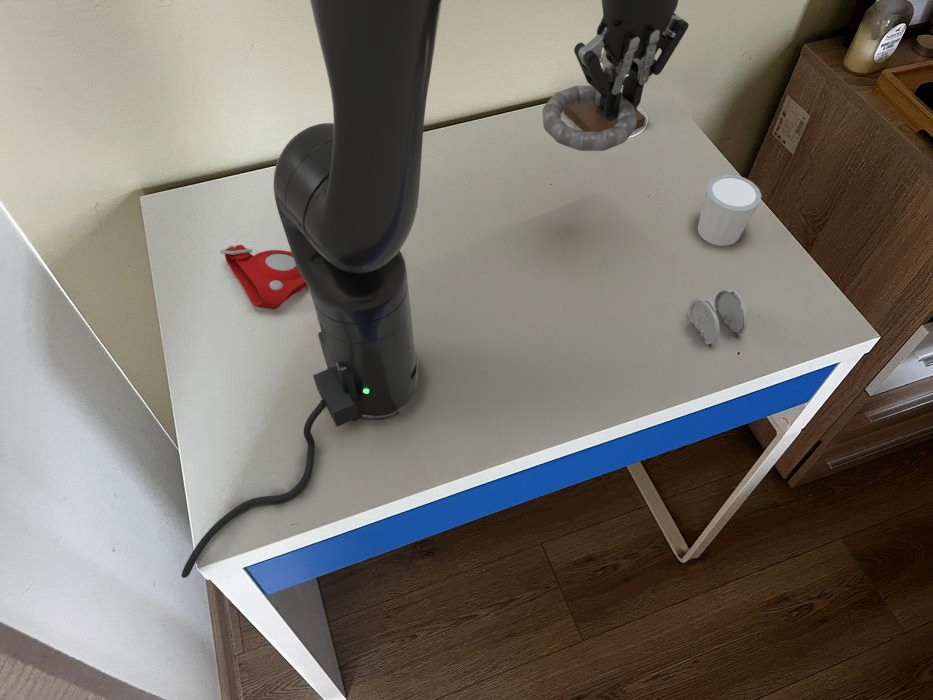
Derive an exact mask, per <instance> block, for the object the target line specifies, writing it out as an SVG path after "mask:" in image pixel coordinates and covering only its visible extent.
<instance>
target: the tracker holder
mask: <svg viewBox="0 0 933 700" xmlns="http://www.w3.org/2000/svg"><path fill="white" fill-rule="evenodd" d="M252 252H253V249H252V248H246V247H245V245H243V244H236V245H232V244H231V245H229V246H228V248H225V249H220V251H219V253H220V254H222V255H224V258H225V261H226V263H227V265H228V268H229V269H230V270H231V272H232V273H233V275H234V276H235V277H236V279H237V280H238V282H239V283H240V285H241V287H242V289H243V290H244V292H245V294H246V295H247V297H248V299H249V300H250V302H251V304H252V306H254V307H256V308H261V309H267V310H277V309H278V308H280V307H281V306H282V305H283V304H284V302H286V301H288V300H289V299H290V298H291V297H292V296H294V295H295V294H298V293H300V292H301V291H302V290H304V289H305V288H306V287H308V286H307V284H306V282H305V281H304V279H303V277H302V275H301V273H300V272H299V270H298V267H297V265H296V263H295V260H294V258H293V255H292V252H291V251H288V250H282V249H271V250H264V251H260V252H258V253H256V254H254V255H253V254H252Z"/></svg>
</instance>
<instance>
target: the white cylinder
mask: <svg viewBox="0 0 933 700" xmlns="http://www.w3.org/2000/svg"><path fill="white" fill-rule="evenodd" d="M761 200H762V193H761V190H760V188H759V187H758V186H757V185H756V184H755V183H754V182H753V181H751V180H749V179H748V178H746V177H744V176H740V175H735V174H722V175H719V176H714V177H713V178H712V179H710V180H709V182H708V184H707V187H706V190H705V195H704V198H703V202H702V207H701V212H700V216H699V220H698V225H697V231H698V234H699V236H700V237H701V238H702V239H703V241H705V242H707V243H708V244H711V245H714V246H718V247H727V246H730V245H734V244H735V243H736V242H738V240H740V237H741V236H742V234H743V233H744V230H745V229H746V227H747V225H748V224H749V222H750V220H751V219H752V218H753V215H754V214H755V212H756V210H757V209H758V207H759V205H760V204H761Z"/></svg>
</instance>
